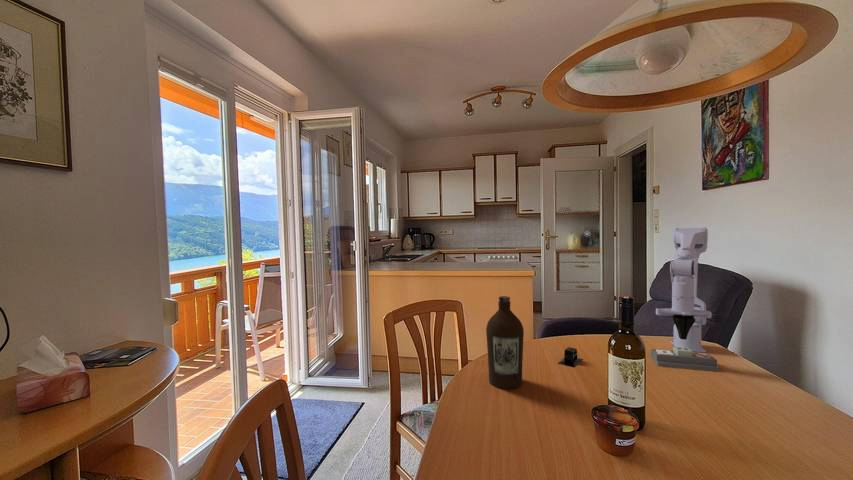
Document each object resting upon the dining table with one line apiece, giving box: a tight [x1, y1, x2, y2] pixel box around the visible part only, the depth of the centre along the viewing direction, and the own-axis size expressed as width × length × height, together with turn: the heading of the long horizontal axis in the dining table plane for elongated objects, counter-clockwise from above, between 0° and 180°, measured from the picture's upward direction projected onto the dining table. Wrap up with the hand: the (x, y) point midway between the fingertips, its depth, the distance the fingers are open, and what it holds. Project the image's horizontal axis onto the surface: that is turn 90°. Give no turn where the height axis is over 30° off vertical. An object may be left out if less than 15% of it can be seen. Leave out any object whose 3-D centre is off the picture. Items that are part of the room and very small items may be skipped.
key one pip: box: [656, 349, 674, 356], centre depth 112 cm, size 4×4×2 cm
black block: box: [557, 346, 584, 368], centre depth 115 cm, size 12×7×5 cm, turn 138°
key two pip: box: [672, 345, 694, 357], centre depth 111 cm, size 4×4×2 cm
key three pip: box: [692, 351, 712, 359], centre depth 109 cm, size 4×4×2 cm
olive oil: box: [485, 295, 525, 390], centre depth 100 cm, size 11×11×25 cm
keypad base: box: [649, 348, 720, 372], centre depth 111 cm, size 8×16×3 cm, turn 72°
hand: (682, 338), depth 111 cm, fingers closed
